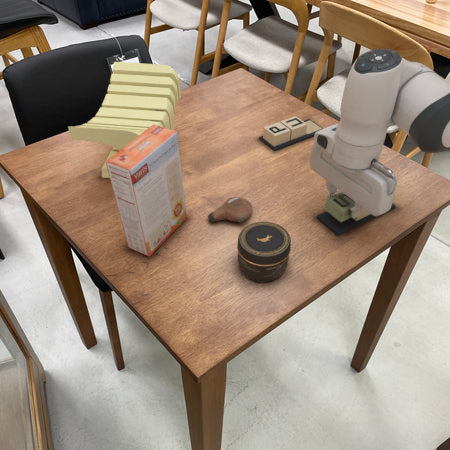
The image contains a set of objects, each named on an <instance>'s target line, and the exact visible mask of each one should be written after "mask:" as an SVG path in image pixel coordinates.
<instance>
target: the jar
mask: <svg viewBox="0 0 450 450" xmlns="http://www.w3.org/2000/svg"><path fill="white" fill-rule="evenodd" d="M291 245H292V240H291V235H290V233H289V231H288V230H287V229H285V227H283V226H281V225H280V224H278V223H275V222H271V221H255V222H252V223H250V224H246V226H244V227H243V228H242V229H241V230H240V232H239V234H238V238H237V246H236V247H237V263H238V267H239V270H240V271H241V273H242V274H243V275H244V276H245V277H246V278H247V279H249V280H251V281H254V282H257V283H269V282H272V281H275V280H277V279H279V278H280V277H281V276H282V275H283V274H284V273H285V271H286V269H287V267H288V264H289V258H290V254H291V249H292V248H291V247H292V246H291Z"/></svg>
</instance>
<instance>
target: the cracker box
mask: <svg viewBox="0 0 450 450" xmlns="http://www.w3.org/2000/svg"><path fill="white" fill-rule="evenodd" d="M105 162H106V165H107V169H108V173H109V176H110V178H109V180H110V184H111V187H112V191H113V195H114V198H115V202H116V206H117V209H118V210H117V211H118V214H119V217H120V221H121V226H122V229H123V232H124V237H125V240H126V245H127V247H128V249H130V250H133V251H135V252H137V253H139V254H142V255H144V256H146V257H151V256H152V255H153V254H154V253H155V252H156V251H157V250H158V249H159V248H160V246H162V245H163V244H164V242H165V241H166V240H168V238H170V237H171V235H172V234H173V233H174V232H175V231H176V230H177V229H178V228H179V227H180V226H181V225H182V224H183V223H184V222H185V221H186V220H187V218H188V216H187V208H186V198H185V189H184V180H183V172H182V162H181V155H180V145H179V136H178V131H177V130H175V131H174V130H170V129H167V128H164V127H160V126H157V125H154V124H153V125H152V126H151V127H149V128H148V129H147V130H145V131H144V132H143V133H141V134H140V135H139V136H138V137H136V138H135V139H134V140H132V141H131V142H130V143H129V144H127V145H126V146H125V147H123V148H122V149H121V150H119V151H118V152H117V153H115V154H114V155H113V156H112V157H110V158H109V159H108V160H106V159H105Z"/></svg>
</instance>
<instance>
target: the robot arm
mask: <svg viewBox="0 0 450 450" xmlns="http://www.w3.org/2000/svg"><path fill="white" fill-rule="evenodd" d="M340 102H341V103H340V107H339V108H340V110H339V112H340V119H339V122H338V123H335V124H332V125H329V126H327V127H324V128H323V129H322V130H319V131H318V132H316V133H315V135H314V136H313V141H314V143H313V144H312V147H311V150H310V156H309V165H310V166H309V167H310V168H311V170H312V171H314V172H315V173H316V174H317V175H319V176H321V178H323V179H324V180H326V181H325V184H326V185H325V186H326V188H327V192H328V193H327V198H329V197H331V196H334V195H336V194H338V193H340V192H343V193H344V194H345V195H347V196H348V197H349V198H351V199H352V200H353V201H355V206H354V207H352V208H350V209H349V213H348V215H350V216H351V217H352V218H356V217H358V216H359V214H360V210H361V209H362V208H364V209H365V210H367V211H368V212H369V213H371V214H372V215H373V216H378V217H379V215H380V216H382V215H384V214H386V213H388V212H390V211H391V210H390V209H391V206H392V204H394V203H393V202H394V198H395V194H396V188H397V185H398V179H397V178H396V175H395V174H394V171H393V170H392V169H391V168H389V167H387V166H385V165H384V164H383V163H381V162H380V158H381V154H382V151H383V147H384V144H385V140H386V137H387V131H388V129H389V128H390V127H394V126H396V127H397V128H398V129H400V130H401V131H402V132H403V133H404V134H406V135H407V136H408V137H409V139H410V140H411V141H412V142H413V143H414V144H415V146H417V148H418V149H419V150H420V151H421V152H422V153H425V154H438V153H443V152H447V151H450V82H449V81H448V80H447V79H445V78H444V77H442V76H441V75H439V73H437V72H436V71H434V70H432V69H431V68H430V67H428V66H427V65H424V64H423V63H420V62H418V61H415V60H407V59H406V58H404V57H403V56H402V55H401V54H400V53H399V52H398V51H397V50H395V49H394V50H393V49H390V48H375V49H371V50H368V51H366V52H363V53H362V54H361V55H359V56H358V57H357V58H356V59H355V61H354V62H353V63H352V66H351V67H350V69H349V72H348V75H347V77H346V81H345V85H344V88H343V91H342V97H341V101H340ZM339 191H340V192H339ZM389 210H390V211H389ZM387 211H388V212H387ZM381 214H382V215H381Z"/></svg>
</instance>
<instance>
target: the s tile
mask: <svg viewBox="0 0 450 450" xmlns="http://www.w3.org/2000/svg"><path fill="white" fill-rule="evenodd" d="M325 203H326V204H325V208H324V210H325V212H326V211H327V212H329V213H330V214H331V215H332V216H334V217H335V218H336V219H337V220H338V221H340V222H343V221H345V220H347V219H349V218H351V216H350V215H348V213H349V209H350V208H352V207H354V206H355V201H353V200H352V199H351V198H349V197H348V196H347V195H345V194H344V193H343V192H341V191H340V192H339V193H338V194H336V195H334V196H331V197H329V198H328V197H327V198H326V202H325Z"/></svg>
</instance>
